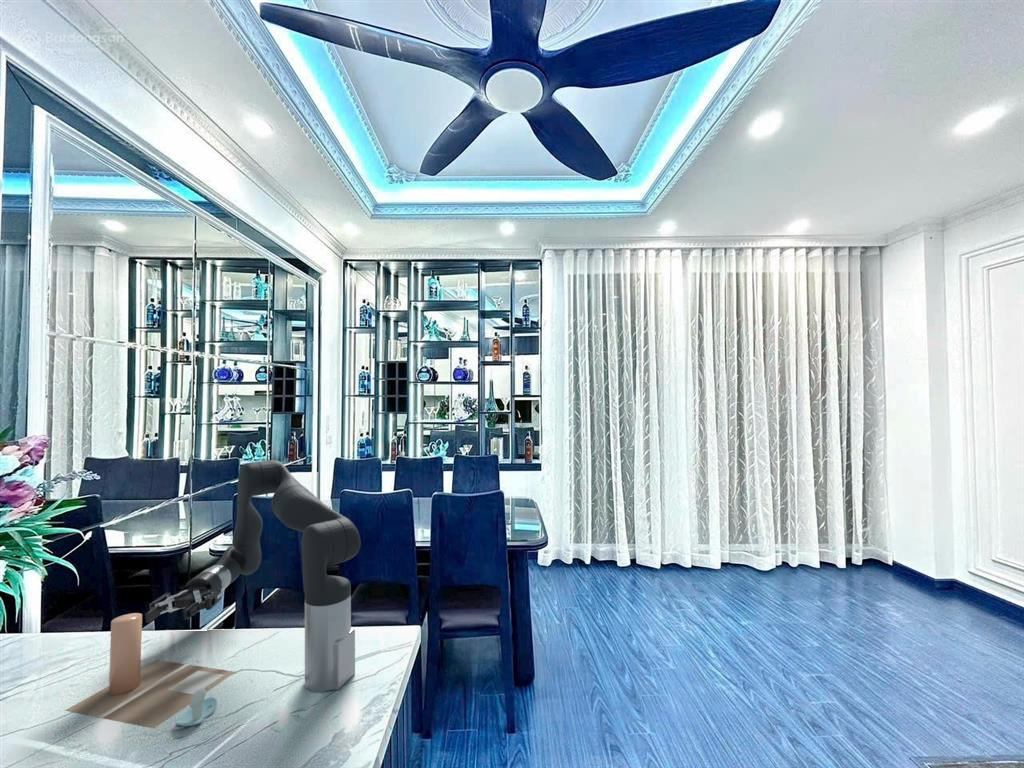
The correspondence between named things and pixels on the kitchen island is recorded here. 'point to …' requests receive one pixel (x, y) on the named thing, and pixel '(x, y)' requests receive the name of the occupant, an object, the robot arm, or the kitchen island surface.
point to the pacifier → (196, 710)
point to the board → (153, 694)
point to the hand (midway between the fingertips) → (166, 617)
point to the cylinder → (125, 653)
